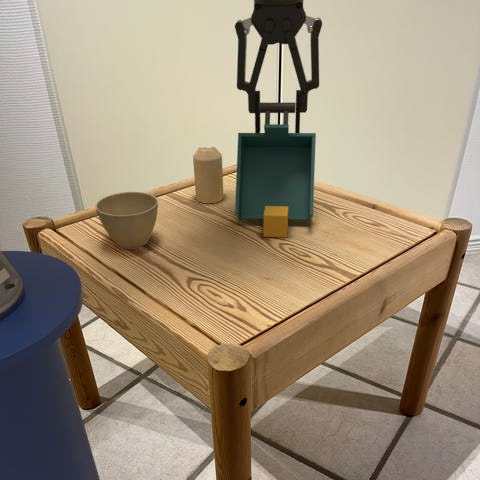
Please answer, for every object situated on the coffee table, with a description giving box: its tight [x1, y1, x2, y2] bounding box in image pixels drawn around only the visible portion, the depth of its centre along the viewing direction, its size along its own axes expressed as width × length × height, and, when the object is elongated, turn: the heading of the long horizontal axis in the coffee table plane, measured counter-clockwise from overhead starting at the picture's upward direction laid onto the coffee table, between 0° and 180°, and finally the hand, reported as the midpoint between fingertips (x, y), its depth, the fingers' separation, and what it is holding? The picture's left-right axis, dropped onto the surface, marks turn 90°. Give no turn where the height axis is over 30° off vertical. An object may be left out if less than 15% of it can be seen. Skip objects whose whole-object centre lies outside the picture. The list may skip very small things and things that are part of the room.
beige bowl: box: [95, 191, 159, 250], centre depth 85 cm, size 10×10×7 cm
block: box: [262, 206, 289, 238], centre depth 88 cm, size 4×4×4 cm
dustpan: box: [234, 102, 317, 223], centre depth 88 cm, size 18×13×10 cm
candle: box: [192, 146, 224, 204], centre depth 100 cm, size 6×6×10 cm
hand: (277, 131), depth 90 cm, fingers open, 6 cm apart
